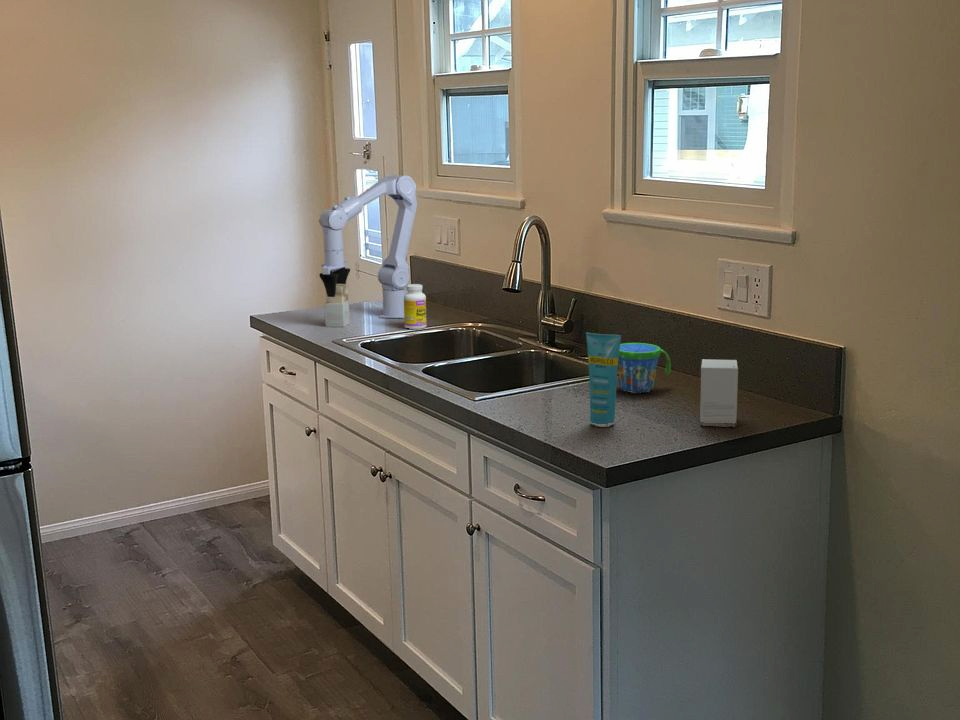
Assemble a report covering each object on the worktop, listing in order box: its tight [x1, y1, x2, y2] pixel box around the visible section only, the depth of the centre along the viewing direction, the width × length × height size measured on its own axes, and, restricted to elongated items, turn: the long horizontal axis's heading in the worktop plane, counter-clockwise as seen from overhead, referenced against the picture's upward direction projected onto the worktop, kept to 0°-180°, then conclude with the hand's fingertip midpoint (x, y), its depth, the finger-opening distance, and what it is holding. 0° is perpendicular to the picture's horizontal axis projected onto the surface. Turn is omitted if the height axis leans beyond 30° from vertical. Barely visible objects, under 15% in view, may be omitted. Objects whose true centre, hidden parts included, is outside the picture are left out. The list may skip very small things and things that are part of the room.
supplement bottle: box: [403, 283, 428, 330], centre depth 313 cm, size 7×7×13 cm
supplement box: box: [699, 358, 739, 424], centre depth 215 cm, size 7×7×13 cm
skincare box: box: [323, 300, 351, 328], centre depth 320 cm, size 6×6×7 cm
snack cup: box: [617, 342, 672, 393], centre depth 240 cm, size 16×10×10 cm
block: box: [325, 283, 349, 303], centre depth 318 cm, size 5×5×5 cm
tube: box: [585, 332, 622, 424], centre depth 214 cm, size 7×5×19 cm, turn 69°
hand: (336, 294), depth 318 cm, fingers open, 7 cm apart
